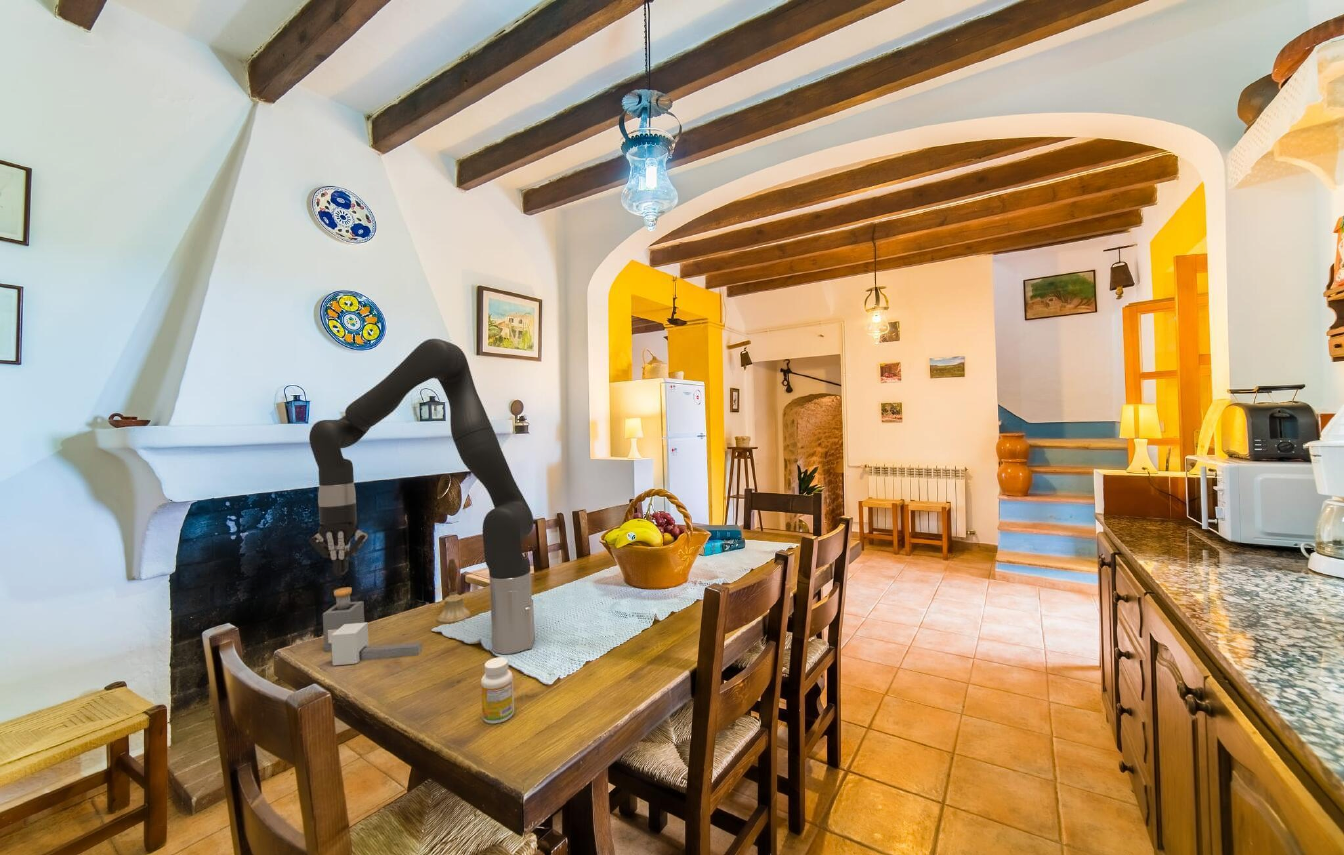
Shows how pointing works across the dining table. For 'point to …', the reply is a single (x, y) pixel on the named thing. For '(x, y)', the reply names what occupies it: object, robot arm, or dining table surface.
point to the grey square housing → (341, 620)
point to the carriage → (349, 643)
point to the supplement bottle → (497, 691)
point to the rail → (390, 651)
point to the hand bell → (453, 599)
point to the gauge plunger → (343, 598)
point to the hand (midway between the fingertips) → (340, 573)
